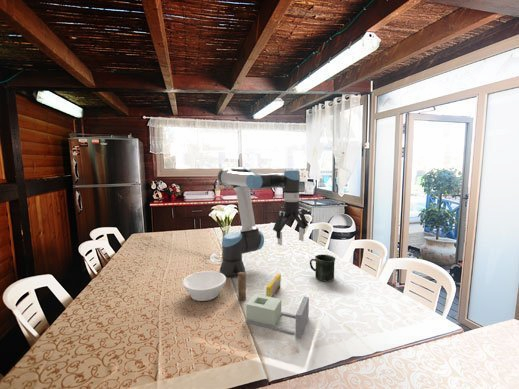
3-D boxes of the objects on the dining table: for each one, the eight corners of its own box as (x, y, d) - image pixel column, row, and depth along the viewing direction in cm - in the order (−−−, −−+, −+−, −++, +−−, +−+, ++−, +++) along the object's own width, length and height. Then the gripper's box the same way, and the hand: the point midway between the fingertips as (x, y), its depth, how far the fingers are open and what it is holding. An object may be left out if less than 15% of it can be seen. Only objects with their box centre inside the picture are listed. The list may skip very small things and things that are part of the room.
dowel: (237, 302, 121) (236, 274, 119) (240, 299, 124) (240, 271, 122) (243, 304, 119) (243, 275, 118) (247, 300, 123) (246, 272, 121)
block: (246, 320, 105) (246, 304, 104) (255, 309, 113) (255, 293, 112) (274, 327, 100) (274, 310, 99) (281, 314, 109) (281, 299, 108)
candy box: (269, 304, 119) (269, 287, 119) (265, 303, 120) (265, 286, 119) (280, 289, 134) (281, 273, 133) (277, 288, 135) (277, 273, 134)
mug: (331, 284, 140) (332, 262, 138) (306, 278, 147) (306, 257, 146) (337, 276, 149) (337, 256, 147) (312, 271, 156) (313, 252, 155)
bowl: (233, 288, 135) (233, 273, 134) (213, 310, 115) (212, 292, 114) (198, 282, 141) (197, 268, 140) (174, 302, 122) (173, 285, 121)
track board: (241, 326, 103) (241, 302, 102) (255, 308, 116) (255, 287, 115) (300, 341, 94) (301, 315, 93) (308, 320, 107) (308, 297, 106)
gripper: (274, 203, 118) (274, 248, 120) (315, 200, 130) (314, 240, 133) (266, 201, 124) (265, 244, 127) (305, 198, 137) (304, 236, 139)
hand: (290, 242), depth 130 cm, fingers open, 13 cm apart
